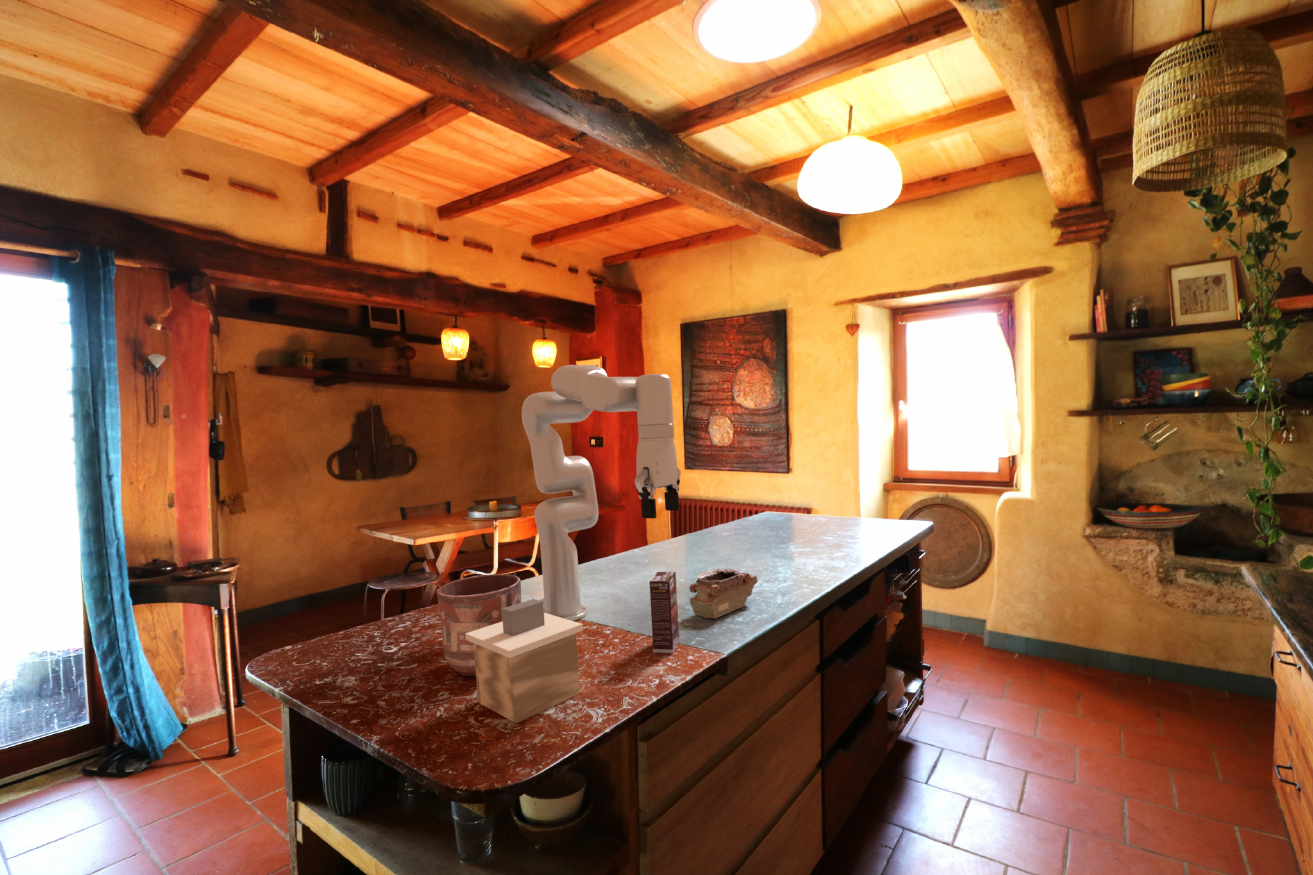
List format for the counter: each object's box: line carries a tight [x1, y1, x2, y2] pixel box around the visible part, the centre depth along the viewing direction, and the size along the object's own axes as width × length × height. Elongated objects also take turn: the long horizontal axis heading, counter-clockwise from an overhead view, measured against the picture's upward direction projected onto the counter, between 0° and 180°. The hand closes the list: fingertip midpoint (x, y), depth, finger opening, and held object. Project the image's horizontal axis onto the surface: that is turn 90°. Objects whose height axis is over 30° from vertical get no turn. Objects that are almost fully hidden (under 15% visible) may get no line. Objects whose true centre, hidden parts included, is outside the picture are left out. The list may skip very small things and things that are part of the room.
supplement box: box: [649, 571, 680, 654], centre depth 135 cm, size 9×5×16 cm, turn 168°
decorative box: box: [689, 568, 758, 619], centre depth 160 cm, size 13×20×10 cm, turn 127°
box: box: [474, 633, 581, 724], centre depth 114 cm, size 13×14×12 cm
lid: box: [465, 598, 584, 658], centre depth 113 cm, size 15×16×7 cm
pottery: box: [436, 573, 522, 678], centre depth 130 cm, size 18×18×18 cm
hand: (661, 514), depth 127 cm, fingers open, 9 cm apart
